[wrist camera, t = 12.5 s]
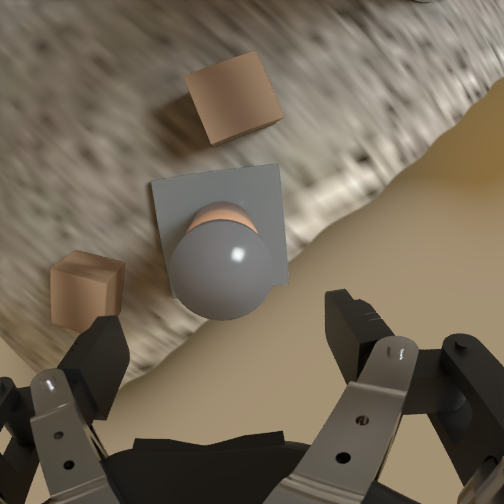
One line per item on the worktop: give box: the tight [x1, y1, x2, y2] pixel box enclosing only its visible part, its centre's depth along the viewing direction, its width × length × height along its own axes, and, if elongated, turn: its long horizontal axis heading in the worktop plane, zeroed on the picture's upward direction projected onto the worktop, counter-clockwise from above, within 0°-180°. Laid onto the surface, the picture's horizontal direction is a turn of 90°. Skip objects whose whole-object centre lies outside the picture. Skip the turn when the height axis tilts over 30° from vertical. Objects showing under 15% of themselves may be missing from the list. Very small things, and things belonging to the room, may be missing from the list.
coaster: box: [151, 164, 289, 298], centre depth 26 cm, size 10×10×1 cm
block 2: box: [184, 51, 284, 146], centre depth 21 cm, size 5×5×5 cm
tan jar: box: [170, 201, 274, 321], centre depth 21 cm, size 6×6×9 cm
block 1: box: [50, 250, 126, 333], centre depth 24 cm, size 5×5×5 cm
